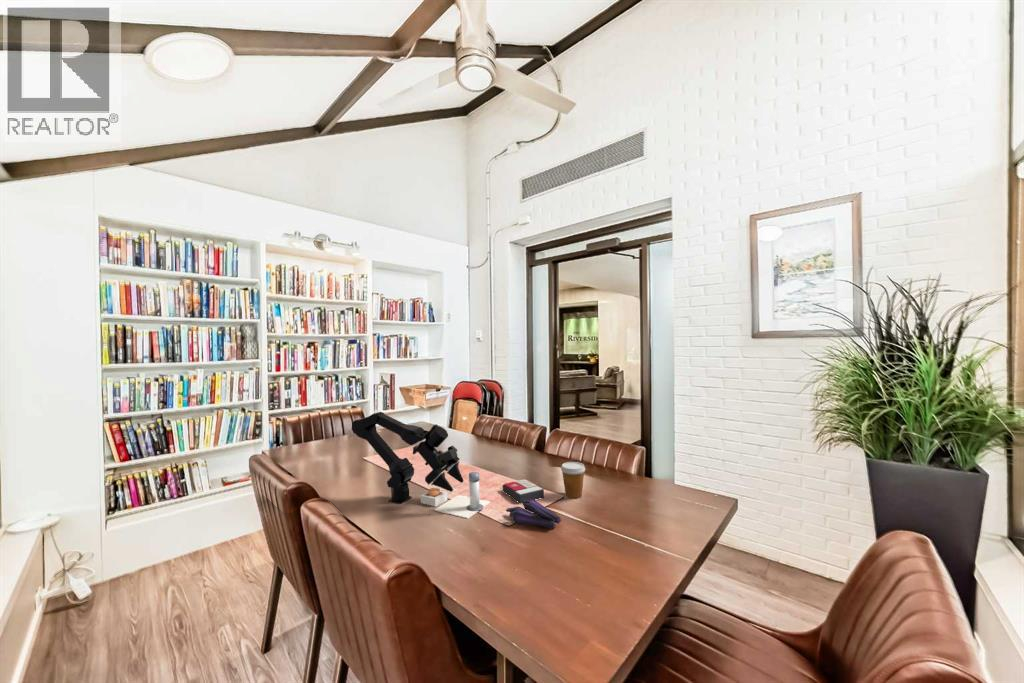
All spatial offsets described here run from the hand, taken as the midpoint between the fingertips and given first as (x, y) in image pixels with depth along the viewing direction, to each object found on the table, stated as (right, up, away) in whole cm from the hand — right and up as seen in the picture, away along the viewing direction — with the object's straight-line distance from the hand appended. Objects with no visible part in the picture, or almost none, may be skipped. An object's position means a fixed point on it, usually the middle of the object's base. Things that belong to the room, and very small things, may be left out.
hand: (457, 486), depth 152 cm
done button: (-10, -6, +6) cm, 13 cm away
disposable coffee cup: (+45, -7, +8) cm, 46 cm away
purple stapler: (+27, -8, -14) cm, 31 cm away
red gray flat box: (+25, -8, +10) cm, 28 cm away
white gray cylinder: (+7, -7, -2) cm, 10 cm away
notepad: (+2, -8, 0) cm, 8 cm away
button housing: (-10, -8, +6) cm, 14 cm away
